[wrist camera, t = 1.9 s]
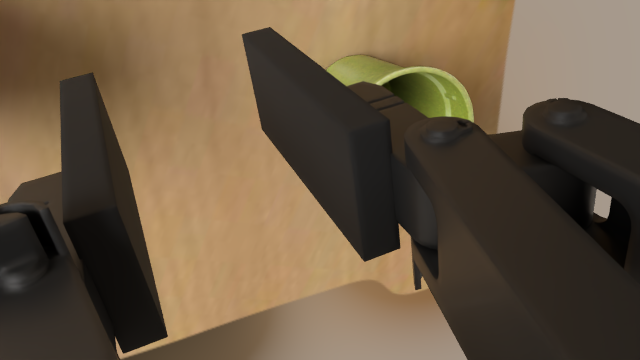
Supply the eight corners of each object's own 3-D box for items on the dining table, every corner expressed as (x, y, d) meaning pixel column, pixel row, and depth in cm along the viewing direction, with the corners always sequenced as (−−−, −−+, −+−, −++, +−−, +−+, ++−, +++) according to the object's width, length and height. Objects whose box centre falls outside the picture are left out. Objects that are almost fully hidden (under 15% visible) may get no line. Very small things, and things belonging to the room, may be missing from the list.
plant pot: (348, 174, 46) (401, 230, 39) (264, 106, 41) (308, 158, 34) (428, 84, 45) (498, 126, 38) (354, 3, 40) (418, 33, 33)
